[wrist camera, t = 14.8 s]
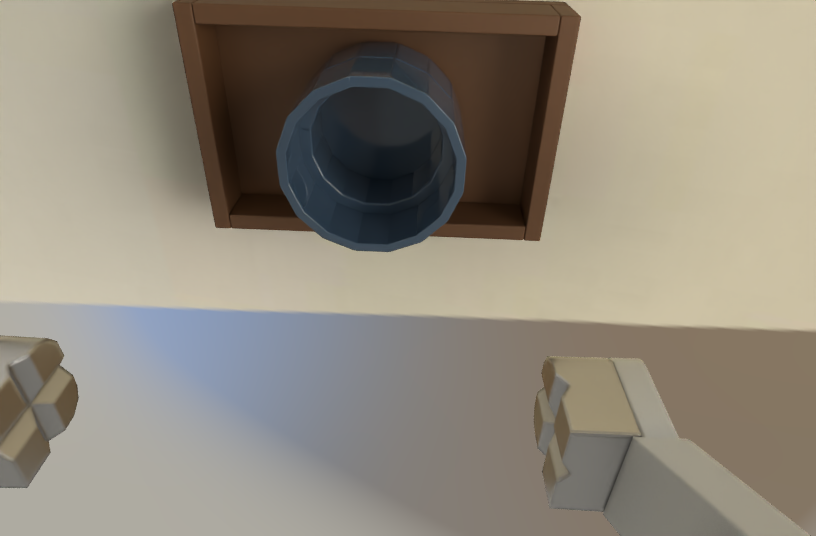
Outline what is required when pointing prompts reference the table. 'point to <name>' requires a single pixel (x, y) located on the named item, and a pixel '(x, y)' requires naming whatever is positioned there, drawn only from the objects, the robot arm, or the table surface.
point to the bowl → (374, 149)
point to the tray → (381, 22)
